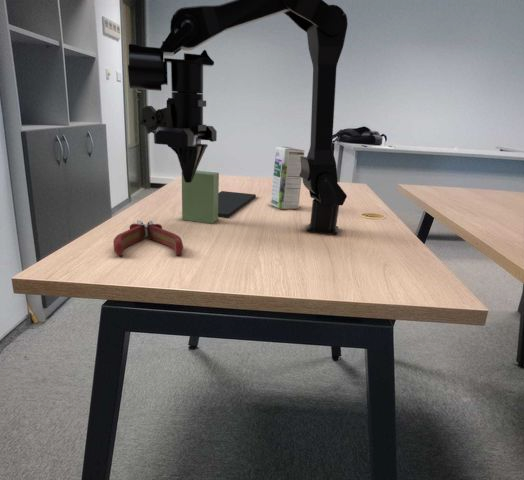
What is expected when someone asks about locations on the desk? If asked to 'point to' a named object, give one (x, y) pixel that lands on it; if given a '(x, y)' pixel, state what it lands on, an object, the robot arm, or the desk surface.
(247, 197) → the charcoal mat
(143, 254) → the desk surface
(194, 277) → the desk surface
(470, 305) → the desk surface
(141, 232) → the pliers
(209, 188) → the sage block
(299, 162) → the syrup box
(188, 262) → the desk surface
